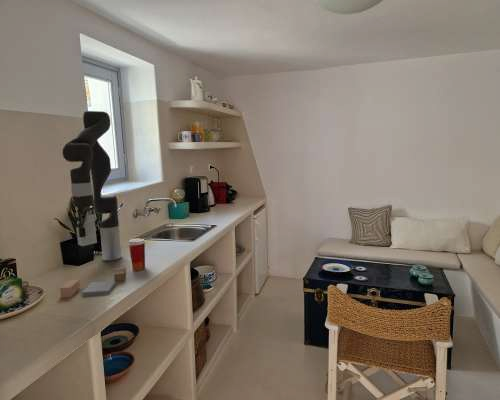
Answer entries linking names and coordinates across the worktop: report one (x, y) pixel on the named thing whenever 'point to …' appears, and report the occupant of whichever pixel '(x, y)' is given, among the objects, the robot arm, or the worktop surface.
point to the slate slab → (99, 288)
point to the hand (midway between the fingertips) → (86, 234)
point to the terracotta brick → (70, 288)
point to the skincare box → (88, 232)
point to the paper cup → (137, 253)
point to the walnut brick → (120, 274)
